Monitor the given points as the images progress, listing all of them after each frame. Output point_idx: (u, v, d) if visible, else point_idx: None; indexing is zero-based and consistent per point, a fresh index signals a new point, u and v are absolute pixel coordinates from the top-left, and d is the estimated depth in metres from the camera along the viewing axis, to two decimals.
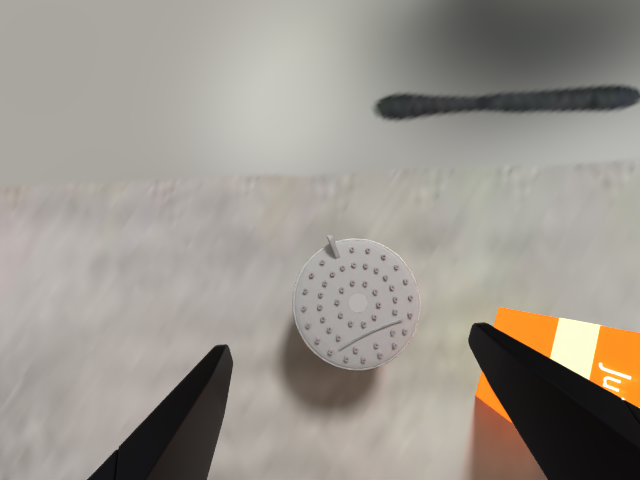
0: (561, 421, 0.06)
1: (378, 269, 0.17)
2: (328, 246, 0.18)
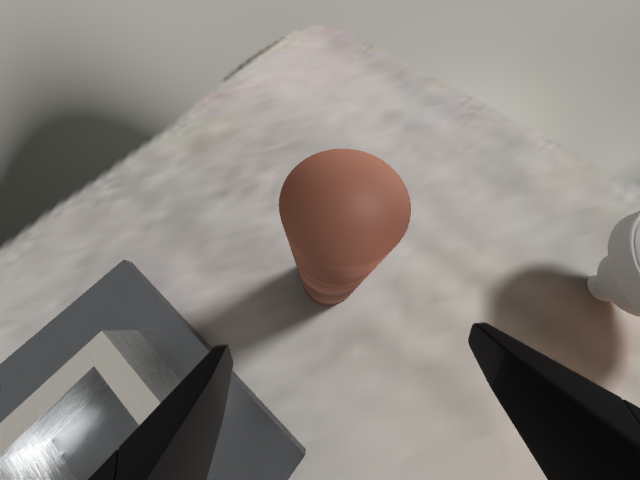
0: (561, 421, 0.06)
1: None
2: None
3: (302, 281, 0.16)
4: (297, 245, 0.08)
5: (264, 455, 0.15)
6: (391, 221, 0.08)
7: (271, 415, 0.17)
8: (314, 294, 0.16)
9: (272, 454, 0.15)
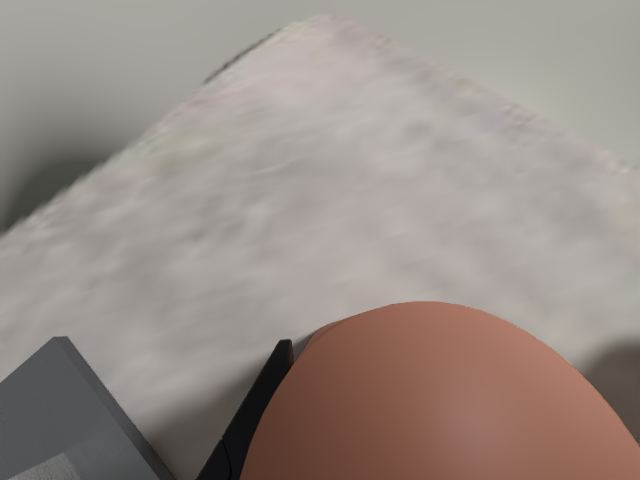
0: None
1: None
2: None
3: None
4: None
5: None
6: None
7: None
8: None
9: None
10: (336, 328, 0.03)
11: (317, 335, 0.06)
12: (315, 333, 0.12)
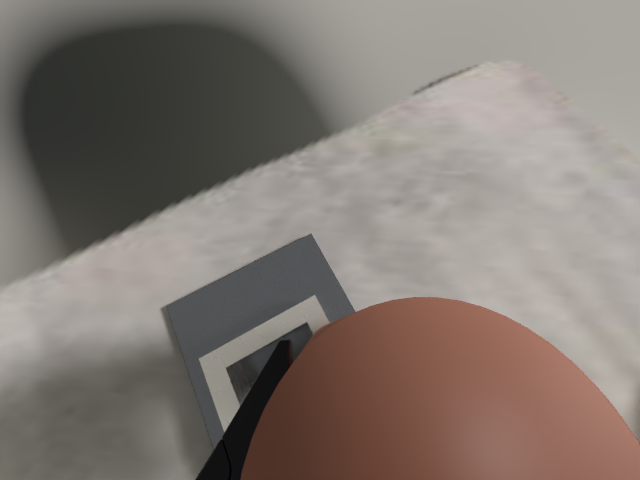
0: None
1: None
2: None
3: None
4: None
5: None
6: None
7: None
8: None
9: None
10: (337, 323, 0.03)
11: (318, 332, 0.06)
12: None
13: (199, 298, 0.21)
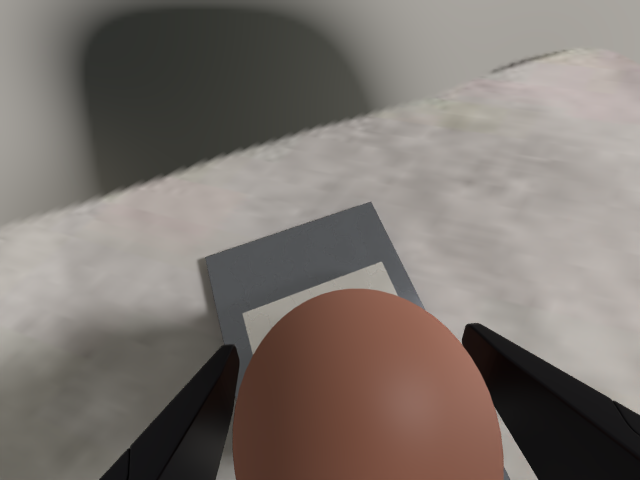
0: (551, 422, 0.06)
1: None
2: None
3: None
4: None
5: None
6: (464, 479, 0.04)
7: None
8: None
9: None
10: (299, 305, 0.05)
11: None
12: None
13: (241, 254, 0.19)
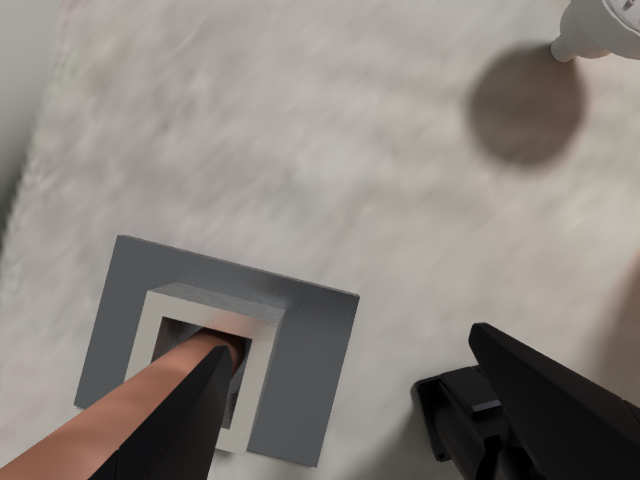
0: (561, 421, 0.06)
1: None
2: None
3: None
4: None
5: (330, 311, 0.19)
6: None
7: (322, 286, 0.20)
8: None
9: (336, 308, 0.19)
10: None
11: None
12: None
13: (90, 374, 0.19)
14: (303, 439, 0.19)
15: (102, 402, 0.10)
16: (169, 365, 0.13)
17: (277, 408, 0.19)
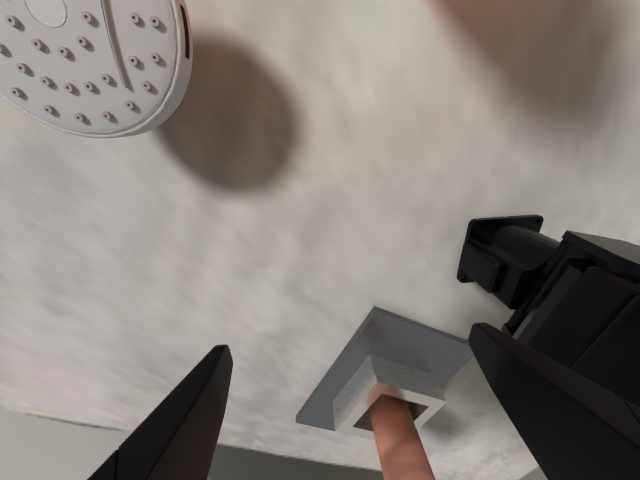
0: (561, 421, 0.06)
1: None
2: None
3: None
4: None
5: (380, 330, 0.25)
6: None
7: (360, 330, 0.26)
8: (413, 421, 0.26)
9: (378, 326, 0.25)
10: None
11: None
12: None
13: None
14: (457, 354, 0.28)
15: None
16: (382, 452, 0.23)
17: (431, 364, 0.28)
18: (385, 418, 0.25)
